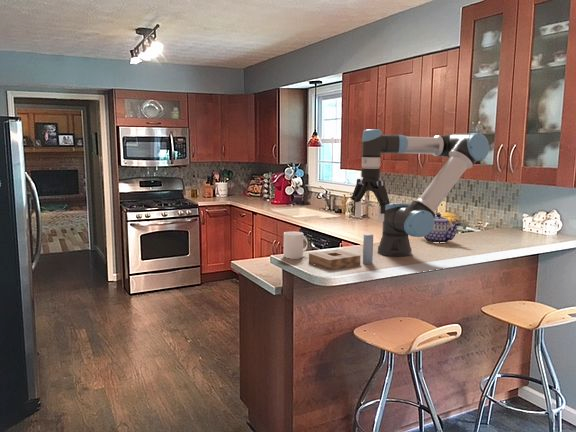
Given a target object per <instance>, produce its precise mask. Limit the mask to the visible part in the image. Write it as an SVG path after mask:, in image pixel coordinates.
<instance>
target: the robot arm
mask: <svg viewBox="0 0 576 432" xmlns="http://www.w3.org/2000/svg"><path fill="white" fill-rule="evenodd" d="M382 133H383V132H382V130H381V129H376V128H375V129H364V130H363V132H362V137H361V170H360V172H361V175H360V176H361V178H357V180H356V185H355V187H354V190H353V192H352V195H351V198H350V199H351V201H353V202H354V212H355V213H354V215H355V216H354V218H361V217H362V198H363V197H364V195H366V193H367V192H368V191H369V192H372V193H373V194H374V196H375V198H376V200H377V201H378V204H379V205H378V208H377V223H382V235H381V239H380V241H379V245H378V246H377V253H378V254H380V255H383V256H389V257H407V255H408V256H410V255H412V247H411V243H410V242H411V241H410V238H409V236H410V237H413V238H422V237H423V238H424V236H426V235H427V234H429V233H430V232H431V231H432V229H433V227H434V218H435V216H436V214H437V213H436V210H437V209H438V207H439V206H440V205H441V203H442V202H443V201H444V199H446V197H447V196H448V194H449V193H450V191H451V190H452V189H453V188H454V186H455V185H456V183H457V182H458V181H459V180H460V178H461V177H462V175H464V173H465V171H466V170H467V169H469V170H470V169H472V168H473V166H474V165H475V163H477V161H483V160H484V159H486V158H487V156H488V154H489V151H490V145H489V144H490V143H489V140H488V139H487V137H486V136H485V135H484V134H482V133H478V132H469V133H468V132H467V133H466V132H465V133H464V132H462V133H461V132H460V133H450V134H444V135H443V134H442V135H441V134H440V135H439V134H438V135H434V136H431V137H430V136H407V135H403V134H382ZM382 154H398V155H399V154H414V155H415V154H416V155H417V154H418V155H421V154H422V155H432V156H433V157H443V158H447V161H446V162H445V164H443V166H442V167H441V168H440V170H438V173H436V175H435V177H434V178H433V179H432V180H431V182H430V183H429V184H428V185H427V186H426V189H425V190H424V191H423V193H422V194H421V195H420V196H419V198H417V199H412V200H411V202H410V203H408V202H404V203H397V202H396V203H391V201H390V200H389V199H390V198H389V196H388V193H387V189H386V185H385V184H386V183H385V180H379V178H380V177H381V169H380V167H381V156H382Z"/></svg>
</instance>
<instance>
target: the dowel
mask: <svg viewBox="0 0 576 432" xmlns="http://www.w3.org/2000/svg"><path fill="white" fill-rule="evenodd" d="M362 240H363V245H362V248H363V249H362V264H365V265H372V264H373V258H374V257H373V256H374V255H373V254H374V234H372V233H365V234H363V239H362Z"/></svg>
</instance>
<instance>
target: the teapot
mask: <svg viewBox="0 0 576 432" xmlns="http://www.w3.org/2000/svg"><path fill="white" fill-rule="evenodd" d="M435 214H436V216H435V218H434V227H433V229H432V231H431V232H430V233H429V234H427V235H426V236H423V238H424V239H425V240H426V242H427V241H429V242H428V243H430V242H439V243H440V242H449V241H452V240H453V239H455V236H456V235H457V234H456V233H457V229H458V227H459V226H460V225H461V223H460V222H455V223H454V224H452V223H451V222H450V221H449V218H448V217H444V216H442V214H441V213H440V212H438V213H435Z"/></svg>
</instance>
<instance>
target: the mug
mask: <svg viewBox="0 0 576 432" xmlns="http://www.w3.org/2000/svg"><path fill="white" fill-rule="evenodd" d="M304 240H305V242H306V246H305V247H304ZM308 244H309V243H308V238H307V236H305V235H304V232H302V231H284V232H283V257H284V258H285V257H286V258H285V259H287V258H290V259H289V260H299V258H300V259H302V258H303V257H304V253H305V252H306V251H307V249H308Z"/></svg>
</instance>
